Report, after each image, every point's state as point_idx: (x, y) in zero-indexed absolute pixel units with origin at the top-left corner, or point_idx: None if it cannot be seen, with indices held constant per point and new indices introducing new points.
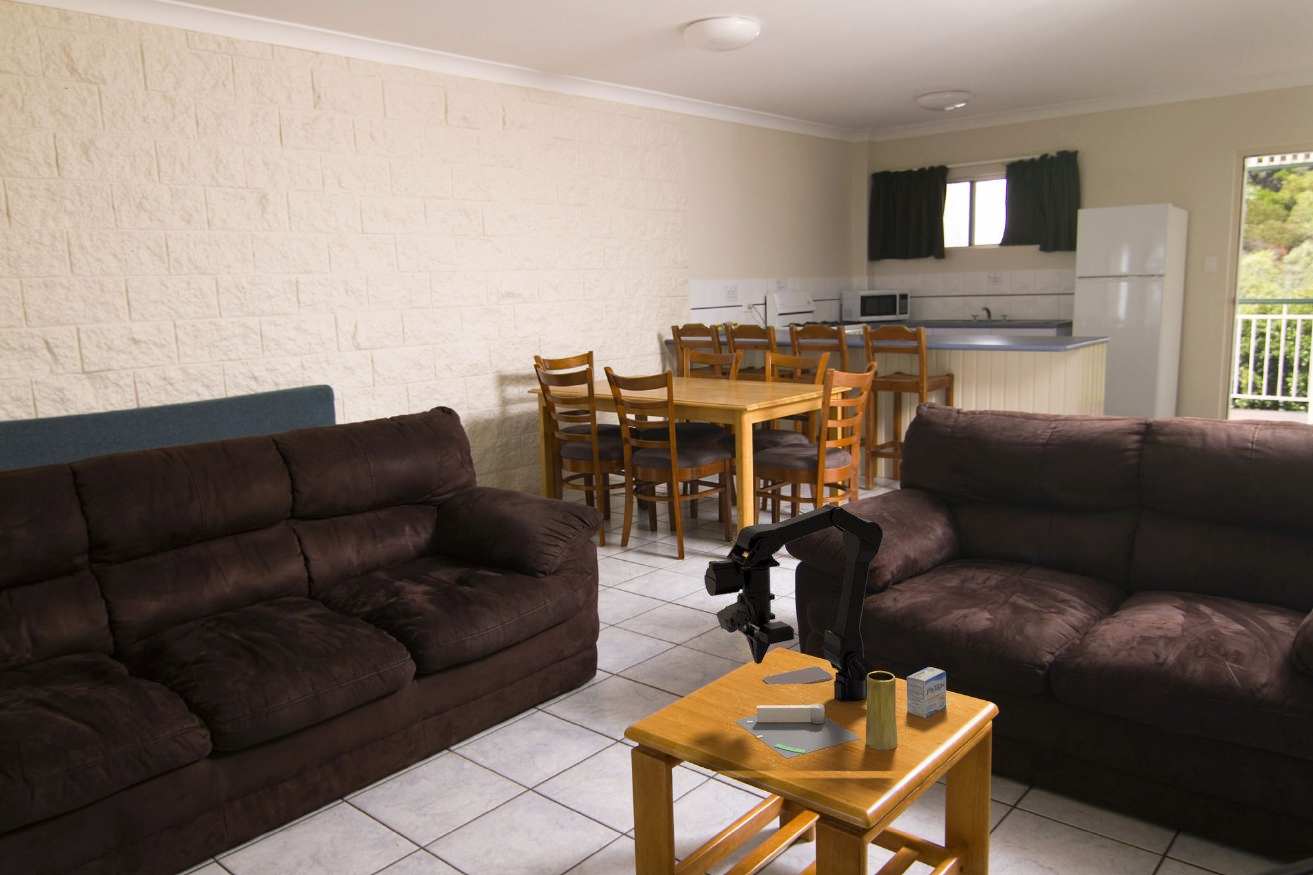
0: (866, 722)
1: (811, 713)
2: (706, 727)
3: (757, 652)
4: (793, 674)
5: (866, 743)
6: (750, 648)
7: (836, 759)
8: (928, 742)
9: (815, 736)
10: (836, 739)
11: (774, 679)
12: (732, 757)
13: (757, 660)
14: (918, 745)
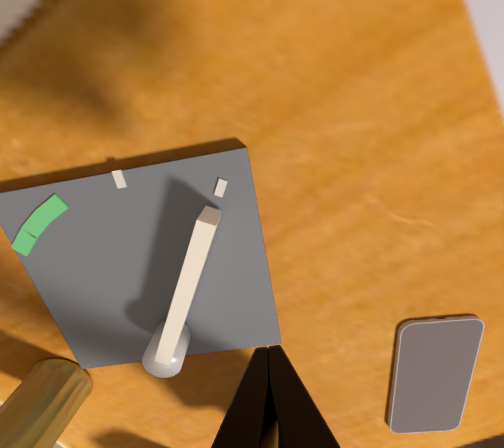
0: (25, 415)
1: (158, 337)
2: (264, 52)
3: (216, 442)
4: (450, 379)
5: (54, 368)
6: (322, 434)
7: (19, 297)
8: (77, 438)
9: (102, 301)
10: (81, 330)
11: (454, 338)
12: (41, 61)
13: (248, 370)
14: (68, 424)
